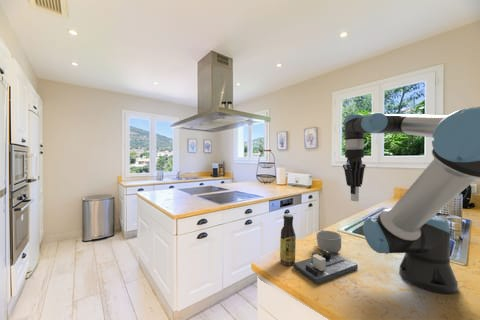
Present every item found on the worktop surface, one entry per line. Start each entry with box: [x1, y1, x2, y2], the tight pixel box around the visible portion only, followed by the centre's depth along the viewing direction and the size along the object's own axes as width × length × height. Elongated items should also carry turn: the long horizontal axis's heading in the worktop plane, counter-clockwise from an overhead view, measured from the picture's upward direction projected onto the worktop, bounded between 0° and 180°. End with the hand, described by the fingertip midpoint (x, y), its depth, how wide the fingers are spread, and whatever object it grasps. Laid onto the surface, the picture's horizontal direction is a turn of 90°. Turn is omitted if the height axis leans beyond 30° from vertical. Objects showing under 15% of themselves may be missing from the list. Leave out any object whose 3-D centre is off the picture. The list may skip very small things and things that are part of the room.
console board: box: [292, 250, 359, 286], centre depth 80 cm, size 12×22×4 cm, turn 116°
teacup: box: [315, 229, 342, 254], centre depth 96 cm, size 14×11×8 cm
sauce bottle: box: [279, 214, 297, 266], centre depth 85 cm, size 6×6×20 cm
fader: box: [313, 255, 326, 271], centre depth 76 cm, size 4×2×4 cm, turn 26°
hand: (354, 200), depth 91 cm, fingers closed
